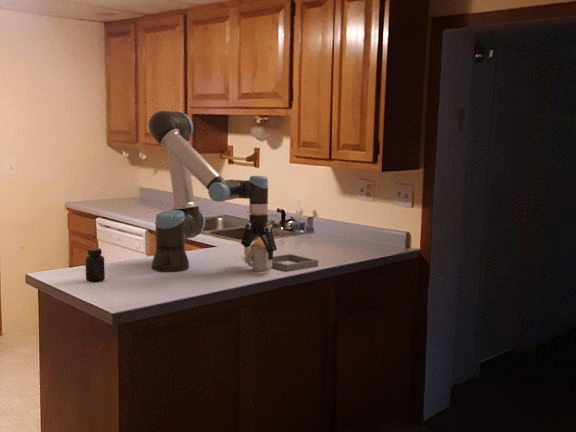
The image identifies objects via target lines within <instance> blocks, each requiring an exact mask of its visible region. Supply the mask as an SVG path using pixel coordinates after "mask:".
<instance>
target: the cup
mask: <svg viewBox="0 0 576 432" xmlns="http://www.w3.org/2000/svg"><path fill="white" fill-rule="evenodd" d="M269 249H270V248H269ZM266 251H267V249H266V247H254V248H253V251H249V252H248V253H247V255H246V262H247V263H246V264H247V266H249V267H252V270H253V271H255V272H268V271H270V270H271V267H270V268H266ZM252 254H253V255H252ZM250 256H251V257H252V261H251V262H250Z"/></svg>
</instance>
